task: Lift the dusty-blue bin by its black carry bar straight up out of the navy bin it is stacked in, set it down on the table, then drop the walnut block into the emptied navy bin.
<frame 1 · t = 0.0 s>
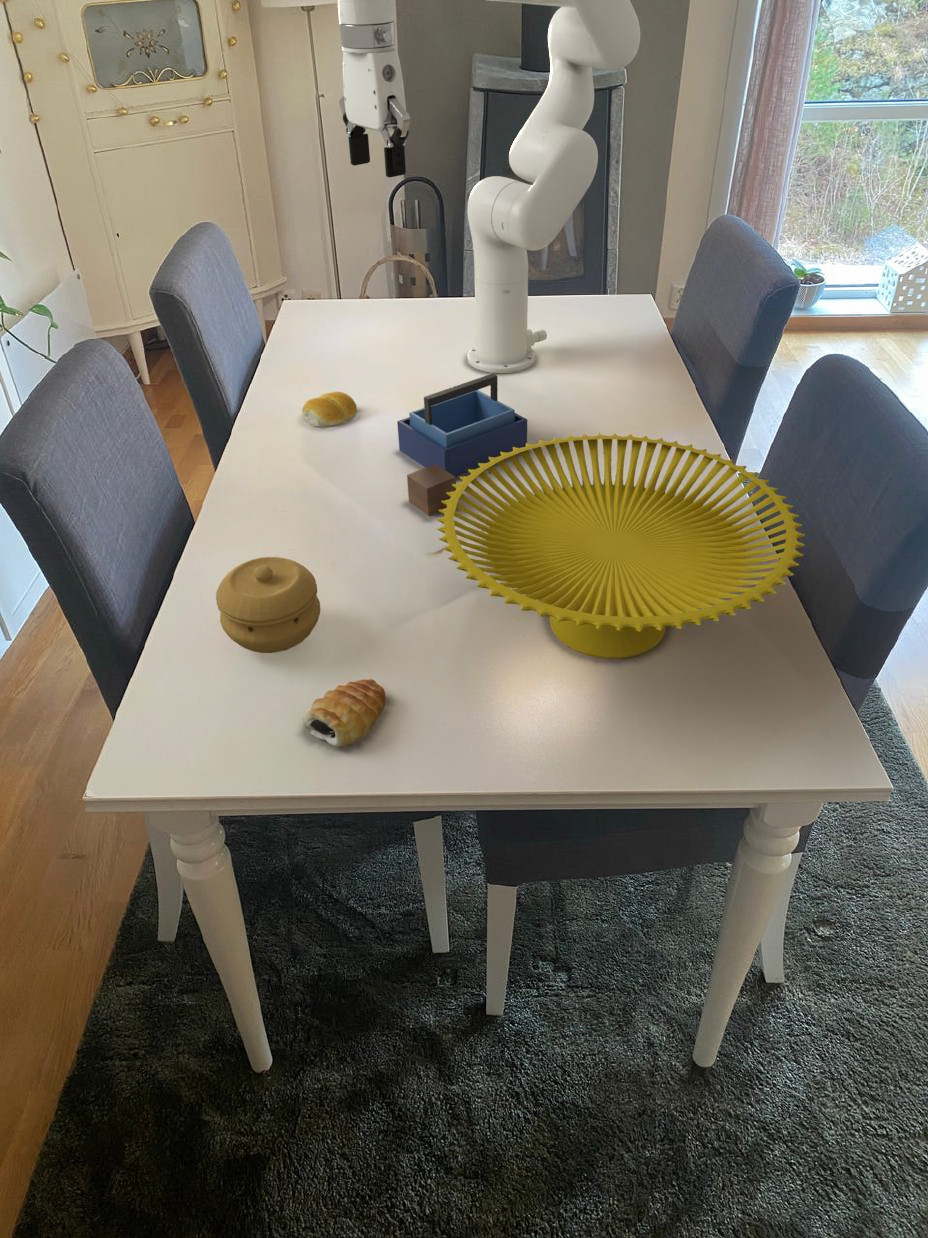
hand: (377, 169, 142), 37 cm above the table, tool pointing down, fingers open, 9 cm apart
pot: (275, 636, 114), on the table
lower bin: (463, 452, 148), on the table
bread roll: (330, 418, 159), on the table
yellow fruit bowl: (607, 622, 114), on the table
pastry: (346, 723, 102), on the table
block: (432, 506, 136), on the table
upper bin: (463, 449, 148), point 1 cm above the table, touching lower bin
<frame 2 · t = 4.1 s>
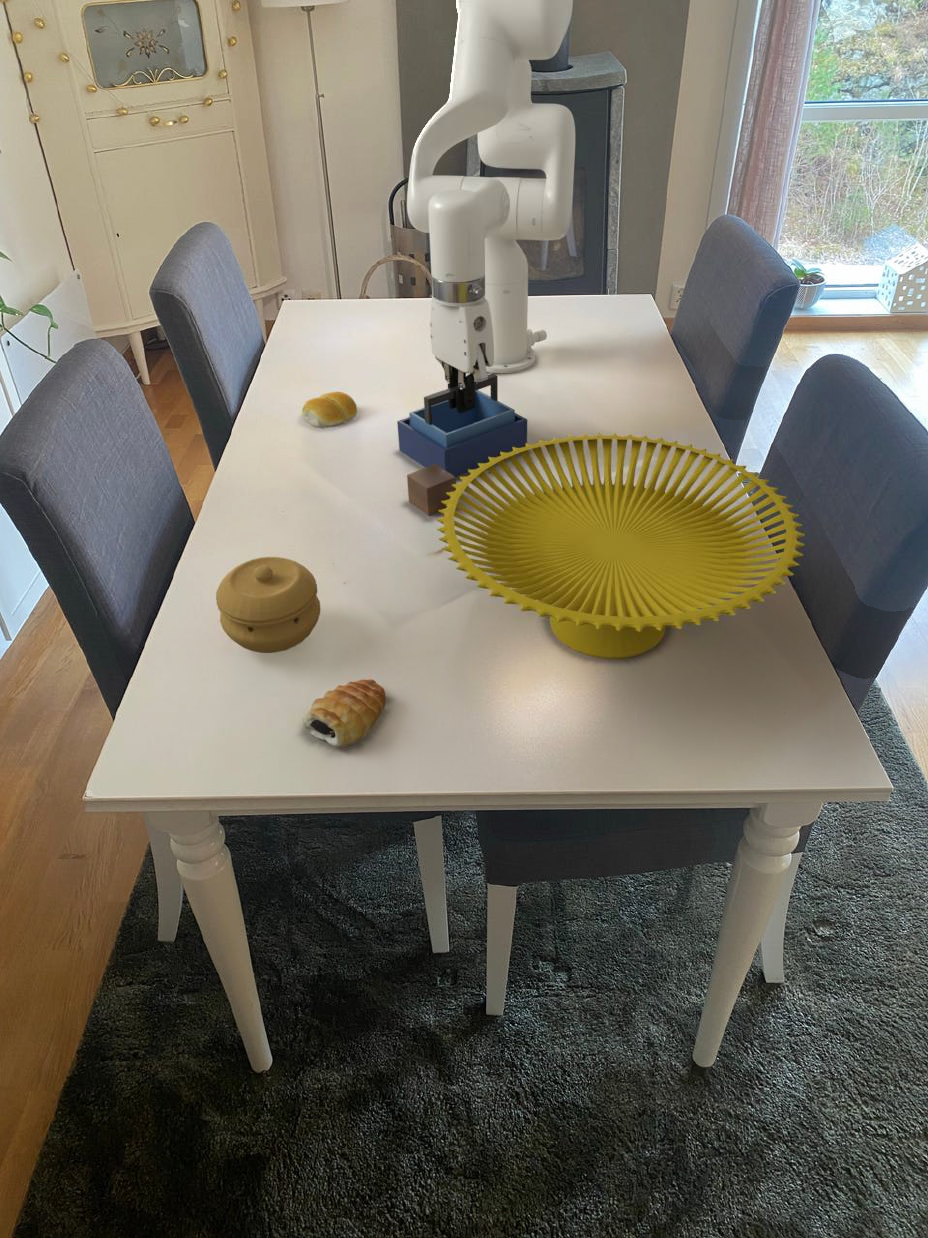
hand: (461, 407, 144), 8 cm above the table, tool pointing down, fingers closed on upper bin
upper bin: (463, 449, 148), point 1 cm above the table, touching gripper, lower bin
everything else where it was.
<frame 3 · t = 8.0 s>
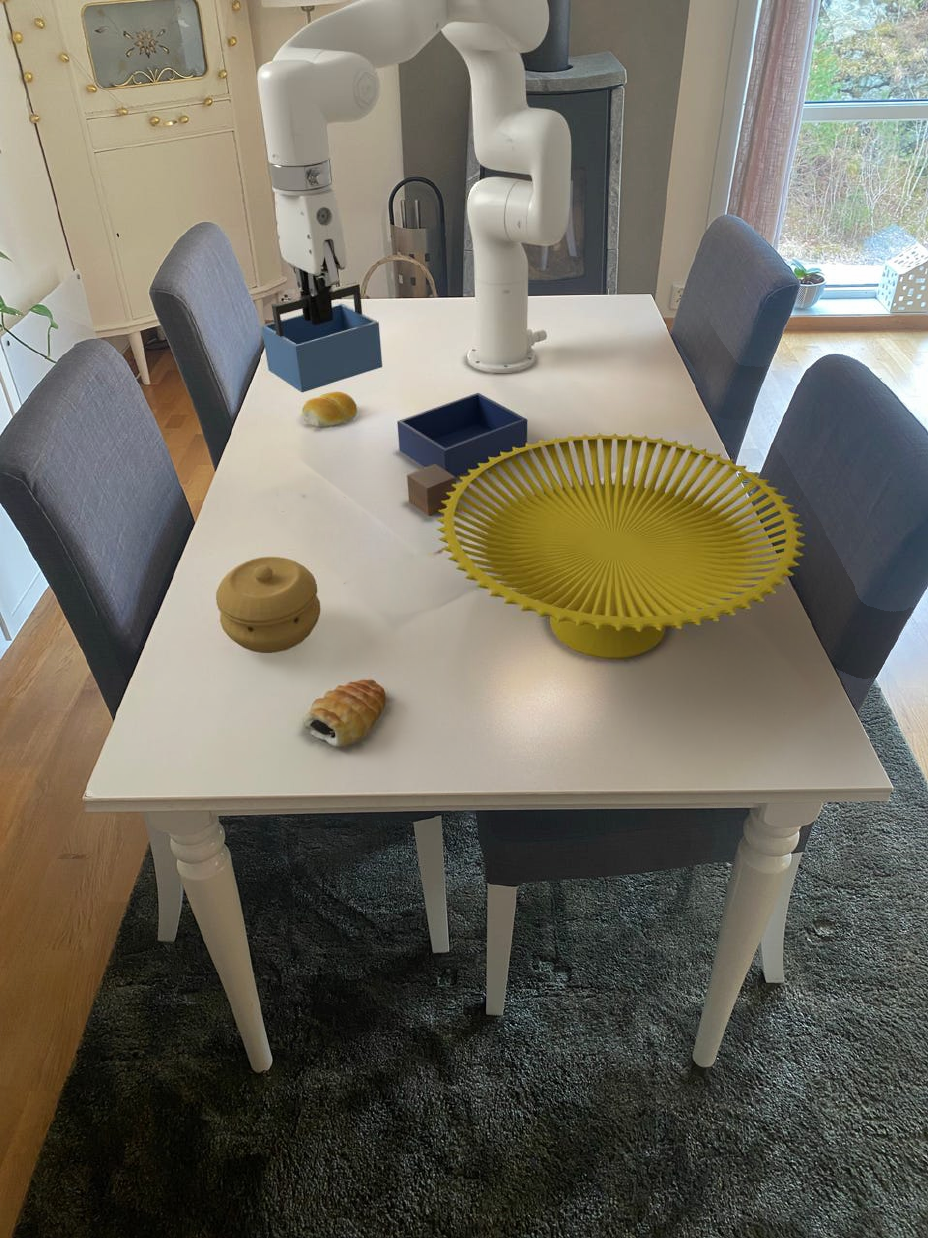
hand: (318, 319, 129), 24 cm above the table, tool pointing down, fingers closed on upper bin
upper bin: (325, 368, 133), point 17 cm above the table, touching gripper
everything else where it was.
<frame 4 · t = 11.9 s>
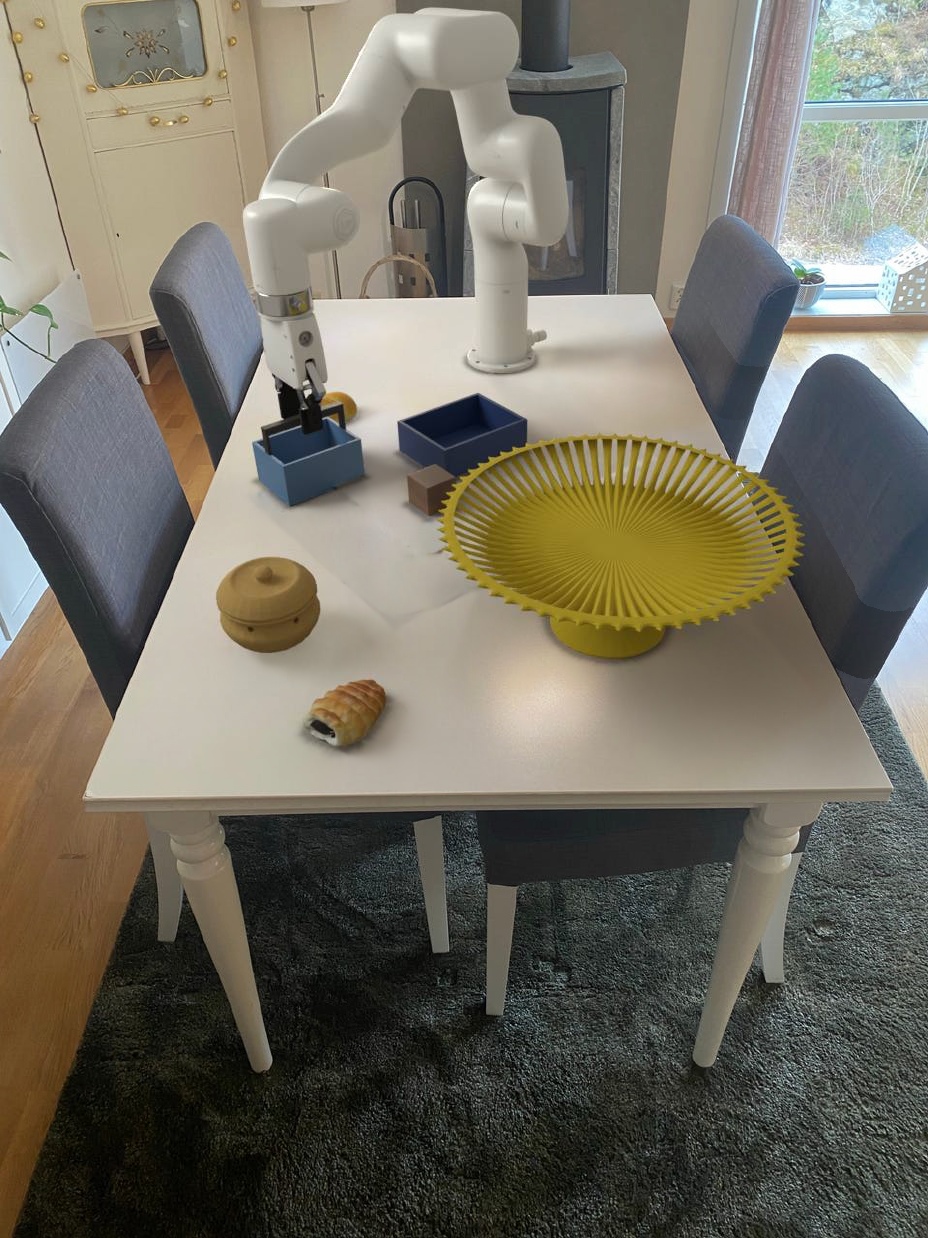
hand: (302, 422, 137), 9 cm above the table, tool pointing down, fingers open, 5 cm apart
upper bin: (311, 478, 143), on the table
everything else where it was.
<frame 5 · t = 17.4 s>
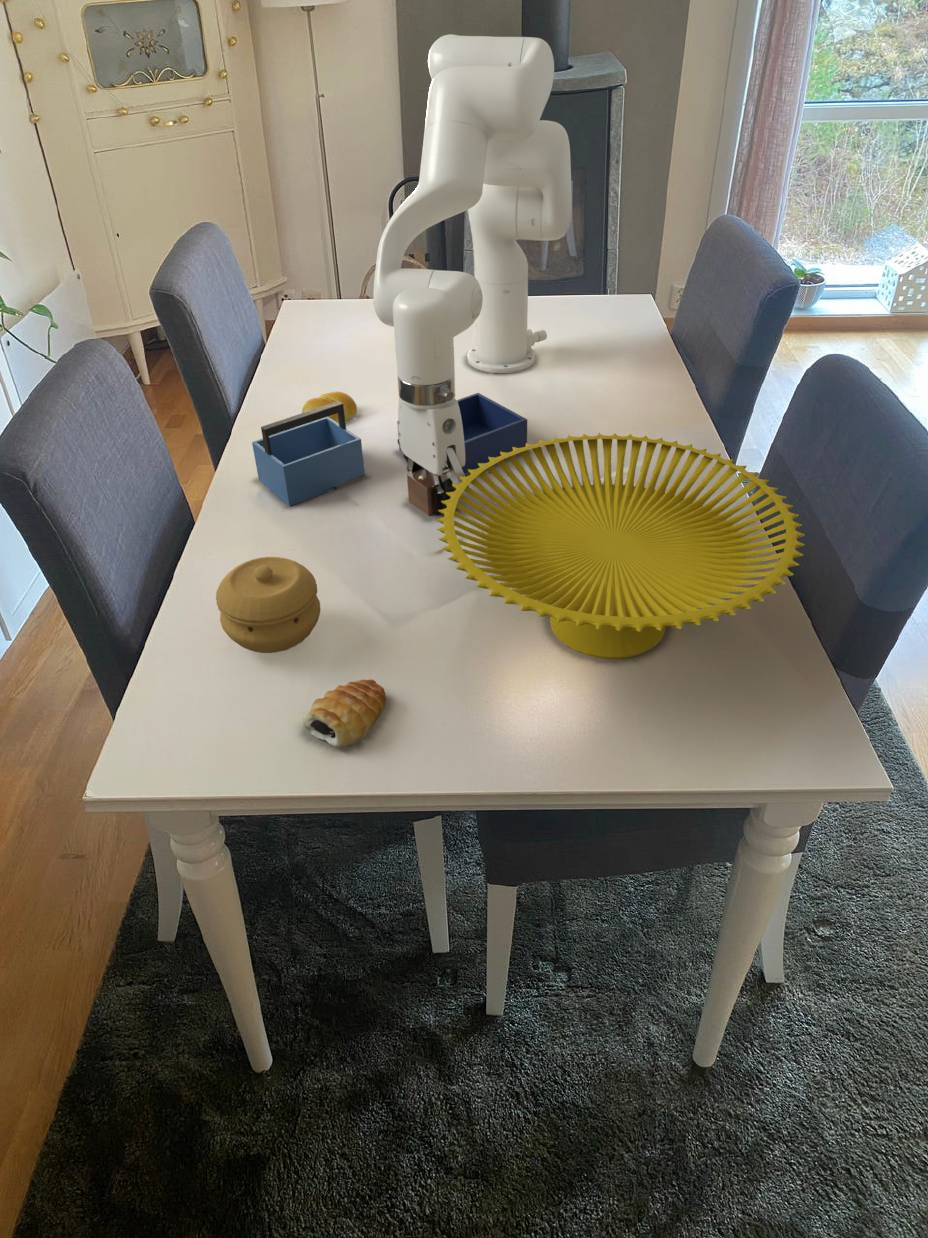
hand: (432, 503, 136), 0 cm above the table, tool pointing down, fingers closed on block, 5 cm apart
block: (432, 506, 136), on the table, touching gripper
everything else where it was.
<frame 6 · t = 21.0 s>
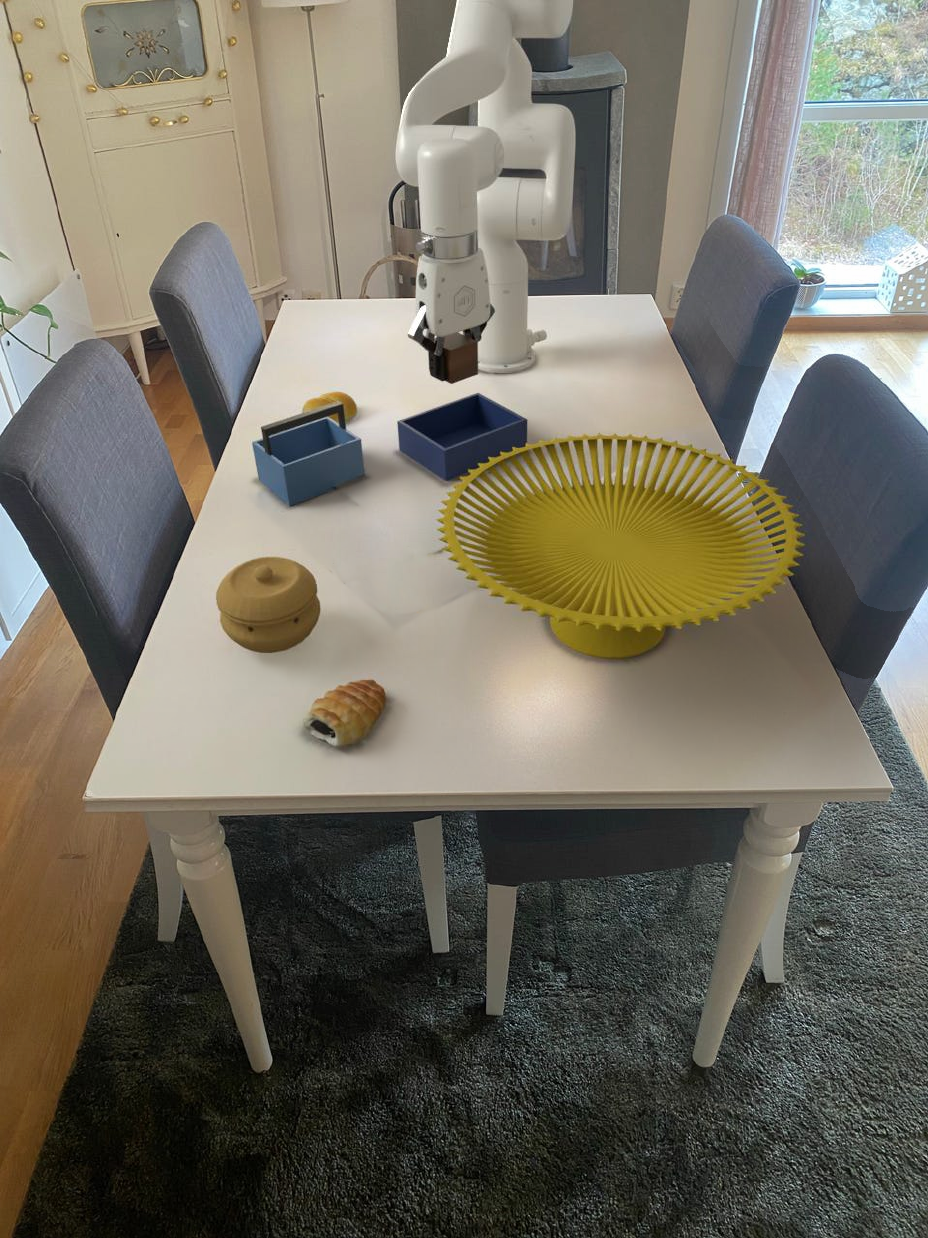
hand: (454, 371, 136), 15 cm above the table, tool pointing down, fingers closed on block, 5 cm apart
block: (454, 373, 137), point 15 cm above the table, touching gripper
everything else where it was.
when the fingers open (1 cm above the table, at t = 25.0 s): block stays where it is, resting on lower bin.
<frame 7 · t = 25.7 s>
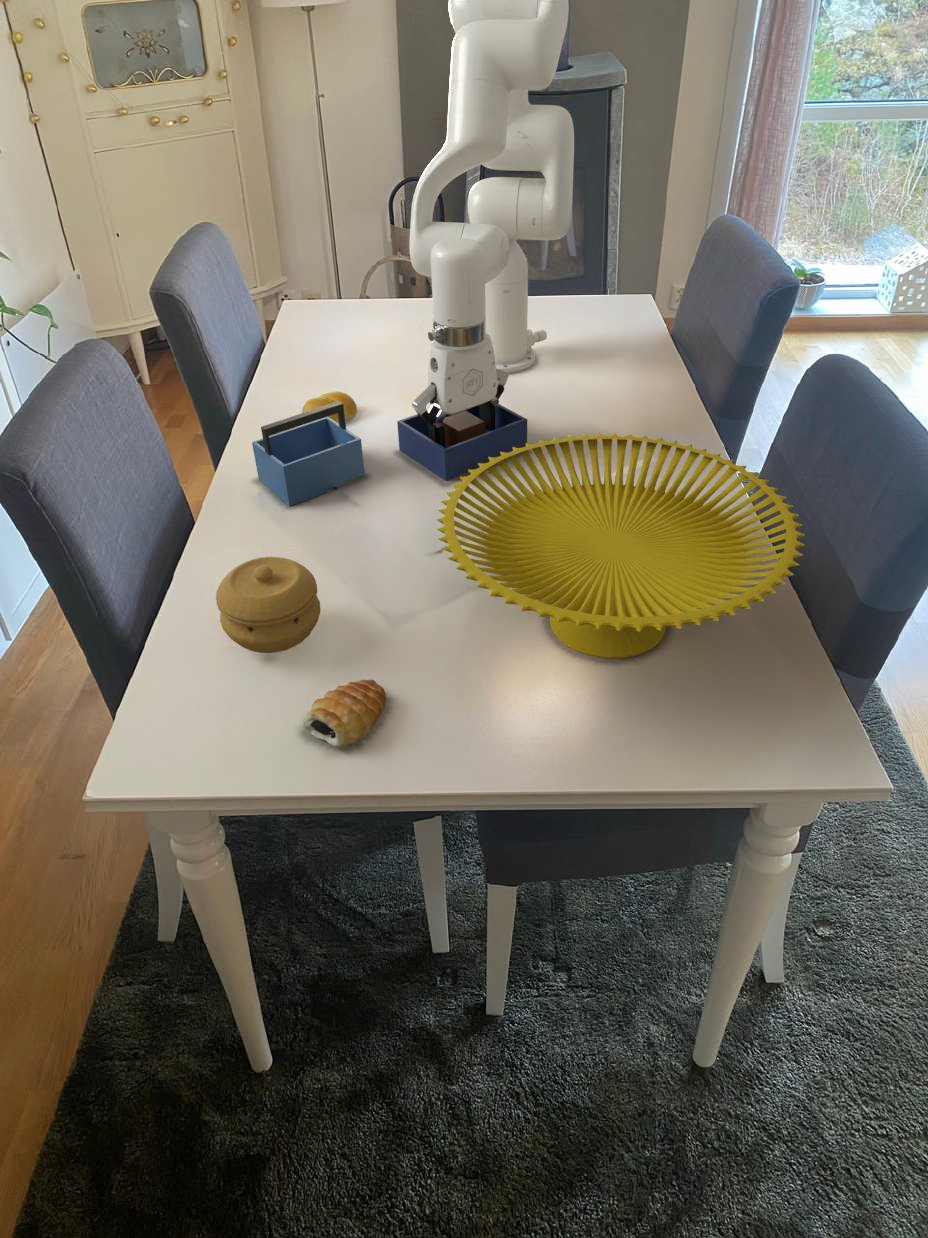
hand: (462, 437, 147), 3 cm above the table, tool pointing down, fingers open, 9 cm apart
block: (462, 449, 148), point 1 cm above the table, touching lower bin
everything else where it was.
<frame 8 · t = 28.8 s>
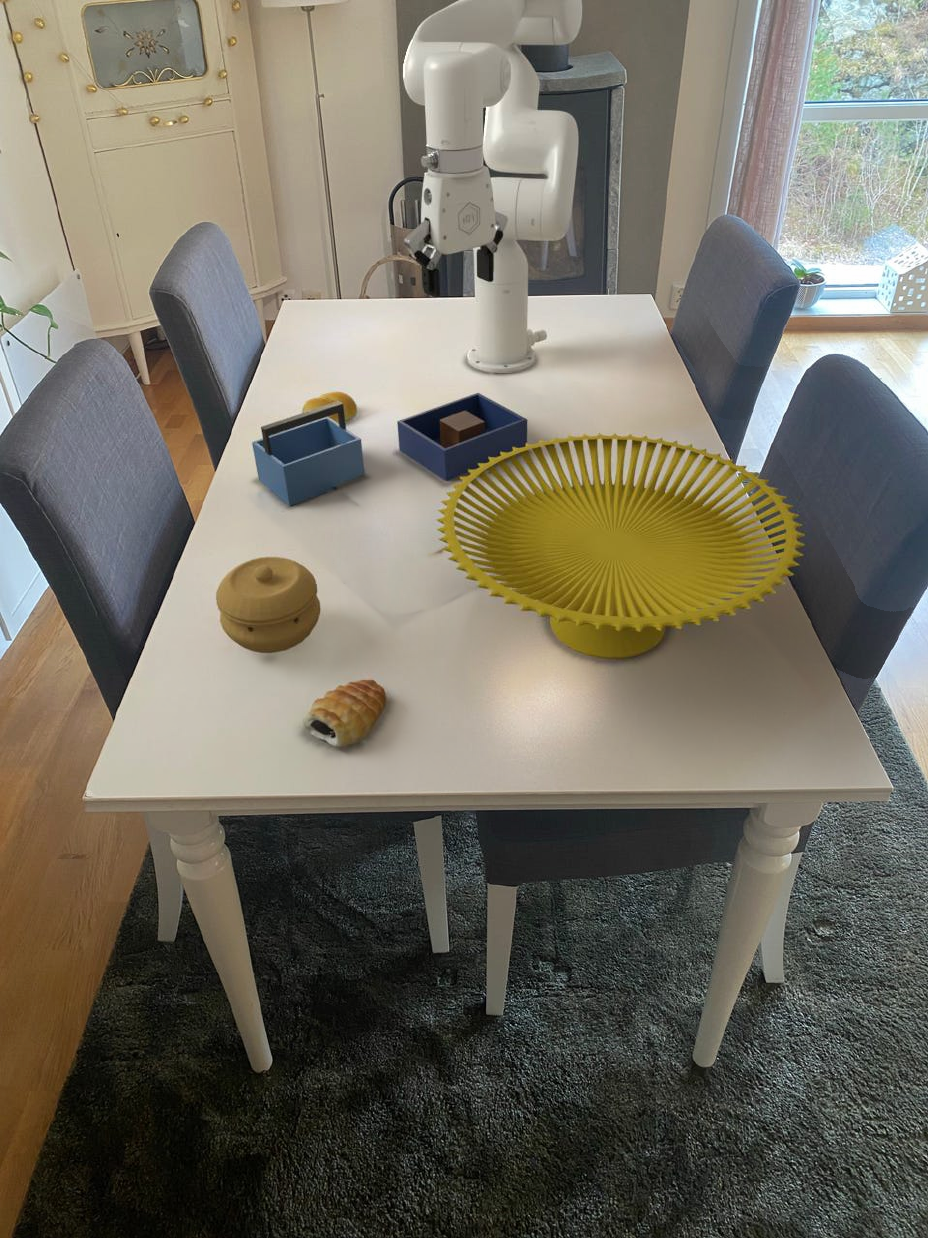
hand: (458, 286, 137), 24 cm above the table, tool pointing down, fingers open, 9 cm apart
nothing on the table moved.
at the end: upper bin inside the target area (0.3 cm from its centre), on the table; upper bin tilted 0°; block inside the target area in the lower bin (0.1 cm from its centre), point 0.6 cm above the lower bin's base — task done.
